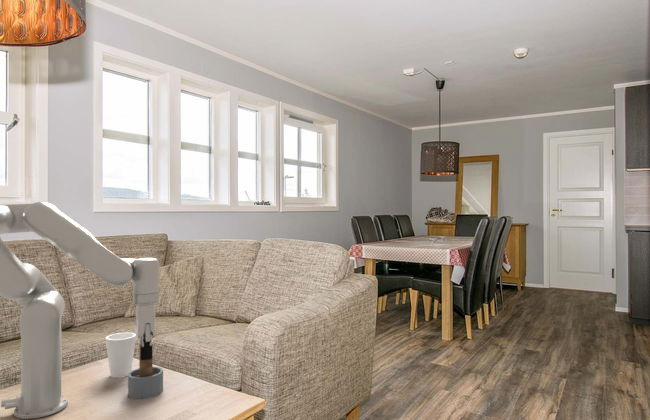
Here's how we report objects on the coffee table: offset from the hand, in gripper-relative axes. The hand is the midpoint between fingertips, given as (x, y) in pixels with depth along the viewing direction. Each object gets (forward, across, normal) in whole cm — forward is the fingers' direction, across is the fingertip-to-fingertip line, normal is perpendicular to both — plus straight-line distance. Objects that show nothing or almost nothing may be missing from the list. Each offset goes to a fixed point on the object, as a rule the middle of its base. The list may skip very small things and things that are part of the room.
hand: (145, 357), depth 133 cm
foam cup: (+11, -20, -6) cm, 23 cm away
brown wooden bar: (+10, 0, 0) cm, 10 cm away
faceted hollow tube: (+10, 0, 0) cm, 10 cm away
